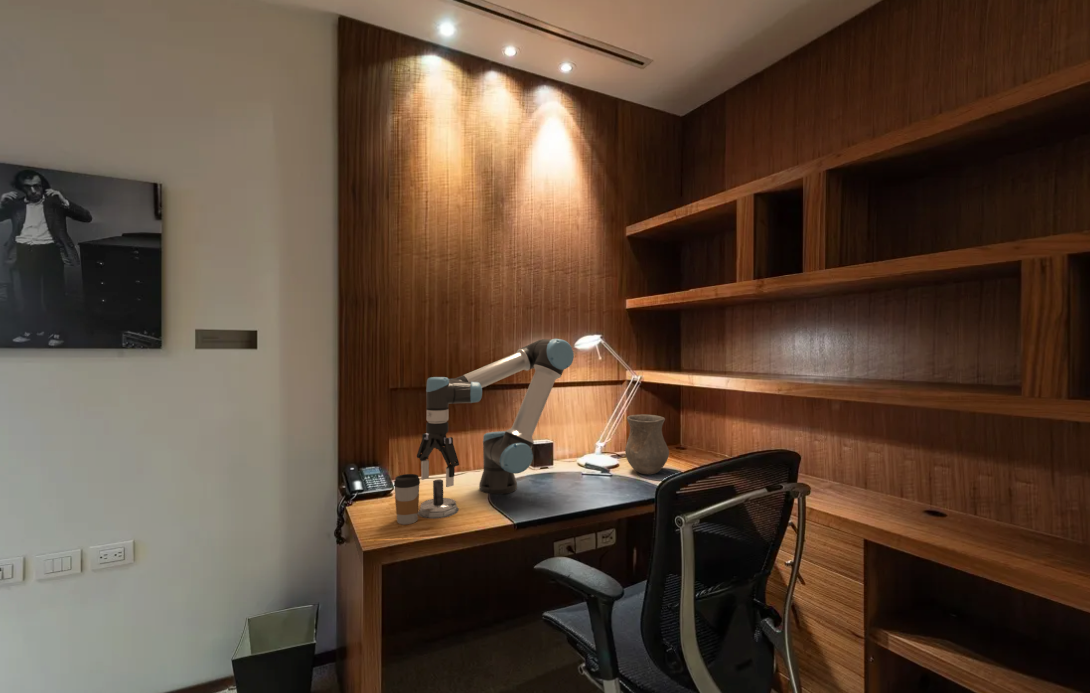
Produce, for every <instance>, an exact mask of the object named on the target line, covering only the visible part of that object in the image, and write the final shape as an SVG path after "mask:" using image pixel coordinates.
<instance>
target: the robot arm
mask: <svg viewBox="0 0 1090 693" xmlns="http://www.w3.org/2000/svg"><path fill="white" fill-rule="evenodd" d="M574 357H575V354H574V350H573V347H572V345H571V344H570V343H569V342H568V341H566V340H564V339H561V338H551V339H547V338H544V339H543V338H542V339H538V340H536V341H534V342H532V343H529V344H528V345H525V346H523V347H521V348H518V349H517V351H516V352H515V353H513V354H511V355H507V356H505V357H503V358H501V359H499V360H496V361H494V362H491V363H489V364H486V365H484V366H482V367H480V368H478V369H475V370H473V371H470V372H468V373H465V374H462V375H460V376H457V377H455V378H448V377H445V376H433V377H432V376H431V377H428V378H427V380H426V389H425V392H426V421H427V422H426V424H425V425H426V426H425V432H426V433H422V436H421V442H420V445H419V448H418V451H417V454H416V458H417V459H419V460H420V471H421V475H420V476H421V479H420V480H427V479H429V478H430V459H429V456H430V455H431V454H432V452H433V451H434V449H436V450H438V451H439V452H440V453H441V455H442V457H443V459H444V461H445V463H446V465H447V466H446V467H445V488H451V487H453V486H454V485H455V484H454V481H455V480H454V478H455V473H456V472H455V468H456V467H457V466H460V461H459V459H458V456H457V455H458V454H457V452H456V448H455V445H454V439H453V438H454V437H453V436H450V437H447V433H448V432H449V422H448V421H449V419H450V417H449V404H452V405H453V404H472V403H479V402H480V401H481V399H482V398H483V388H486V387H487V386H490V385H492V384H494V383H497V382H498V381H500V380H503V379H505V378H508V377H510V376H512V375H515V374H516V373H519V372H521V371H523V370H524V371H526V372H527V371H530V370H532V369H534V374H533V375H532V379H530V380H531V381H530V383H529V385H528V387H527V388H528V389H527V390H526V393H525V395H524V397H523V399H522V402H521V404H520V406H519V409H518V411H517V414H516V416H515V418H514V422H513V424H512V426H511V427H510V428H509V429H506V430H503V431H501V430H500V431H490V432H486V433H484V434H483V438H482V439H483V440H482V449H483V451H482V453H483V456H482V457H483V458H482V459H483V461H482V462H483V471H482V474H481V478H480V481H479V484H478V485H479V486H478V487H479V491H480V492H482V493H484V494H491V495H500V494H501V495H506V494H507V495H508V494H510V493H513V492H515V491H516V490H518V484H517V479H516V476H515V475H516V474H521V473H523V472H525V471H526V470H527V469H529V468H530V466H531V464H532V463H533V459H534V454H533V450H532V448H533V446H534V443H535V442H534V439H533V435H534V434H535V431H536V428H537V426H538V423H539V421H540V418H541V415H542V414H543V411H544V408H545V406H546V403H547V401H548V399H549V396H550V394H551V392H552V389H553V386H554V385H555V381H556V380H557V379H560V378H561V377H562V375H563V373H564V370H566V369H568V368H569V367H570V366H572V364H573V361H574Z"/></svg>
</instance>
